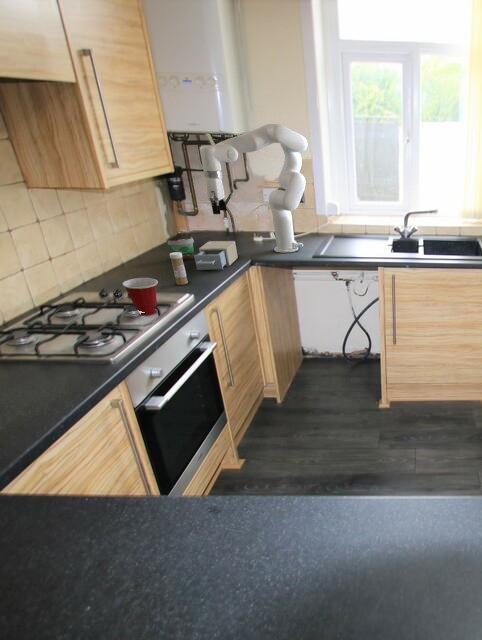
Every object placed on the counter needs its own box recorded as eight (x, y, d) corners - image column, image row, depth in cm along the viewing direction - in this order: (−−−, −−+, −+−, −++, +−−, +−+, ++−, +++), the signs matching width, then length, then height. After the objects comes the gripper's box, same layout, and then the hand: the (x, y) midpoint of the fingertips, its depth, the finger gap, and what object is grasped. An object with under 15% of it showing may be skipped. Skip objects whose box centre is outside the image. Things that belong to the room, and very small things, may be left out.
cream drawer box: (229, 265, 229) (226, 248, 226) (202, 266, 228) (198, 248, 224) (237, 257, 242) (235, 241, 239) (212, 257, 241) (208, 241, 237)
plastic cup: (156, 318, 169) (148, 286, 164) (125, 318, 169) (115, 286, 163) (170, 307, 179) (162, 276, 174) (140, 307, 178) (132, 276, 173)
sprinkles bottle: (175, 283, 204) (167, 252, 198) (186, 281, 207) (179, 251, 201) (178, 286, 201) (171, 255, 195) (189, 283, 204) (182, 253, 198)
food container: (177, 262, 232) (172, 242, 228) (171, 260, 235) (166, 240, 231) (202, 257, 241) (198, 238, 237) (195, 255, 244) (191, 236, 240)
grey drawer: (219, 272, 216) (216, 258, 214) (193, 272, 215) (190, 258, 212) (230, 261, 233) (228, 247, 230) (206, 261, 231) (203, 248, 229)
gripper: (210, 172, 225) (217, 209, 232) (198, 176, 210) (205, 215, 217) (227, 172, 226) (233, 209, 233) (216, 176, 211) (223, 215, 218)
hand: (220, 212), depth 225 cm, fingers open, 9 cm apart
